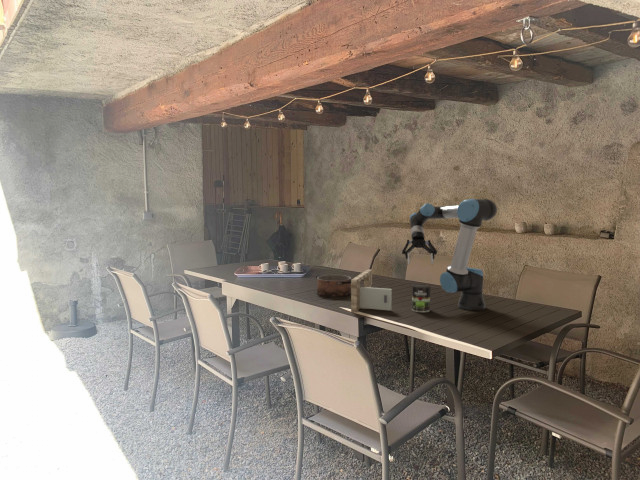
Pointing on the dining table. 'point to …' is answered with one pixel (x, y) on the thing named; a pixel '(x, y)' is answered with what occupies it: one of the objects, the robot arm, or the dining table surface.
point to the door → (375, 298)
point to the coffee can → (421, 298)
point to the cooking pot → (333, 285)
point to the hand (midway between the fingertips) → (420, 263)
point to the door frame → (356, 288)
